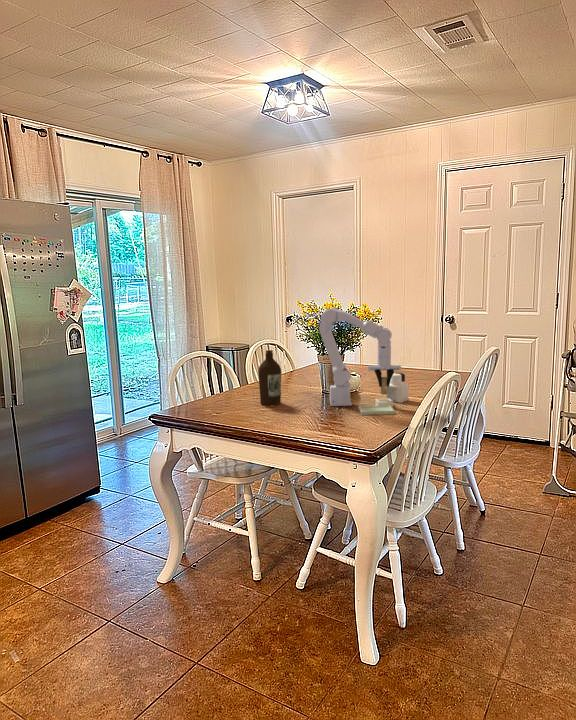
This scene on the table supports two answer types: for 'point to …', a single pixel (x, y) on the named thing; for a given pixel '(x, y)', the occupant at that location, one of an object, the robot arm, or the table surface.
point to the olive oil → (270, 380)
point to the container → (398, 388)
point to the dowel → (384, 385)
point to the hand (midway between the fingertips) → (383, 386)
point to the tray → (376, 410)
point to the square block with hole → (384, 402)
